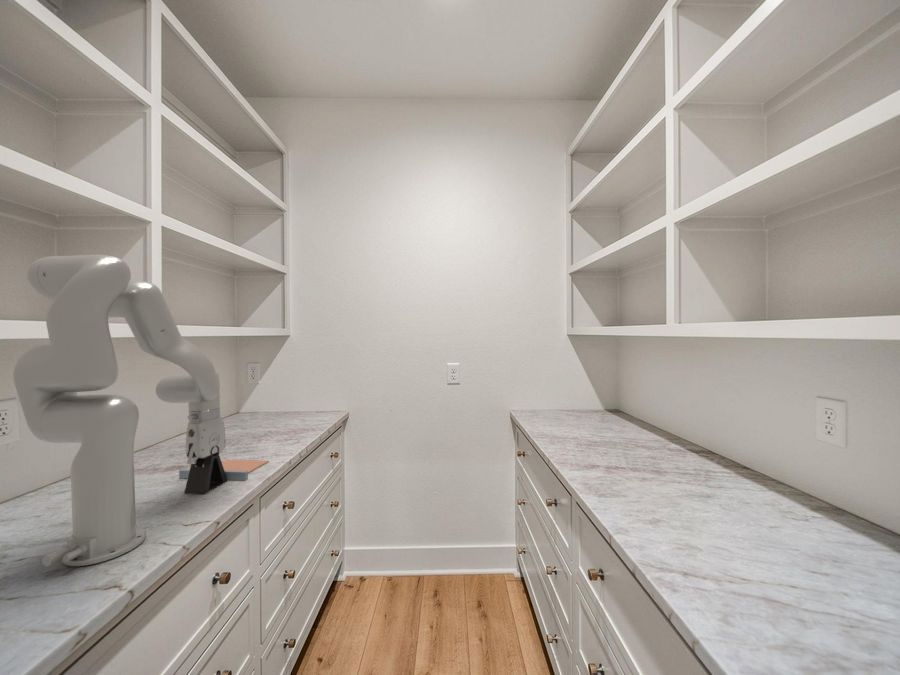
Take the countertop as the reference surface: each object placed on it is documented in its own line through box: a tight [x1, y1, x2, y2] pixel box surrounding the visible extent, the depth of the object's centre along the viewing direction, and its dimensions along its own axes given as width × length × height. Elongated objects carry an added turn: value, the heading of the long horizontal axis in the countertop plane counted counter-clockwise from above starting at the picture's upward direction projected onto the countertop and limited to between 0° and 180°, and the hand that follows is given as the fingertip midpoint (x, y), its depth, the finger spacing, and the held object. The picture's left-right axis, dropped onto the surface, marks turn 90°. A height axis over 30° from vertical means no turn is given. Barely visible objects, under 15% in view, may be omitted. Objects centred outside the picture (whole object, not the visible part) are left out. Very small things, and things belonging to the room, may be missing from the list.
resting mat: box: [221, 459, 270, 474], centre depth 122 cm, size 13×16×1 cm
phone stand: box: [184, 446, 229, 495], centre depth 107 cm, size 9×6×12 cm, turn 172°
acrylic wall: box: [178, 468, 249, 482], centre depth 113 cm, size 1×22×2 cm, turn 82°
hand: (206, 478), depth 107 cm, fingers closed on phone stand, 1 cm apart
